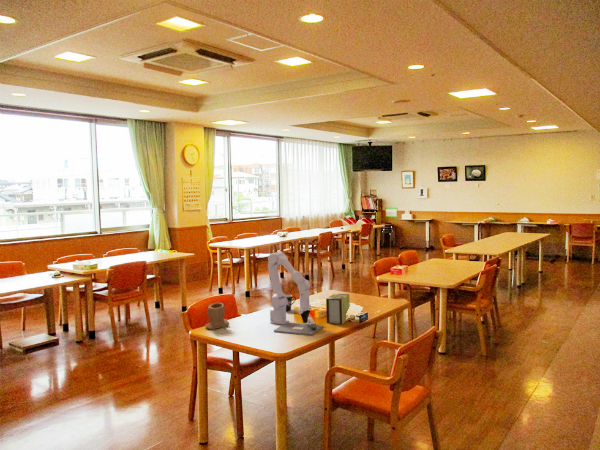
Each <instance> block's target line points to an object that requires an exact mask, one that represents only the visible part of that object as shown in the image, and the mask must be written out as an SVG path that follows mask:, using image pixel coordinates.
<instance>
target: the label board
mask: <svg viewBox="0 0 600 450" xmlns="http://www.w3.org/2000/svg"><path fill="white" fill-rule="evenodd" d="M323 326H324V325H322V324H321V325H320V324H316V330H311V327H310V326H309V324H308V323H297V322H289V321H288V322H286V323H285V324H280V326H278V327H276V328H275V329H274V330H273V332H274V333H280V334H290V335H292V334H293V335H300V336H311V337H312V336H313V335H315V334H316V333H317V332H319V331H320V330H321V329H322V328H324V327H323Z"/></svg>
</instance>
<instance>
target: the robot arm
mask: <svg viewBox="0 0 600 450" xmlns="http://www.w3.org/2000/svg"><path fill="white" fill-rule="evenodd" d="M279 265H281V266H283V267H284V268H285V270H287V272H288V273H289V274H290V278H291V279H292V280H293V281H294V283H295V284H296V285H297V289H298V293H299V309H298V315H300V316H301V320H302V324H308V322H307V321H308V317H310V316H309V315H310V314H311V310H312V306H311V304H310V289H311V285H312V284H311V282H310V281H309V280H308V279H306V278H305V277H303V274H302V273H301V272H300V270H299V271H298V270H296V269H295V268H294V267H293V265H292V264H291V263H290V261H289V260H288V257H287V255H286V254H285V253H284V252H283V251H277V252H272V253H270V254H269V255H268V257H267V270H268V274H269V279H270V282H271V288H272V291H273V294H272V297H271V307H272V308H270V312H269V313H270V314H269V317H270V318H269V319H270V320H269V323H270V324H276V325H283V324H285V323H286V322H288V323H289V319H287V311H286V305H287V304H288V300H287V298H286V296H285V295H286V294H285V293H284V292H283V290H282V289H283V288H282V284H281V279H280V276H279V272H278V267H279Z"/></svg>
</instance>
